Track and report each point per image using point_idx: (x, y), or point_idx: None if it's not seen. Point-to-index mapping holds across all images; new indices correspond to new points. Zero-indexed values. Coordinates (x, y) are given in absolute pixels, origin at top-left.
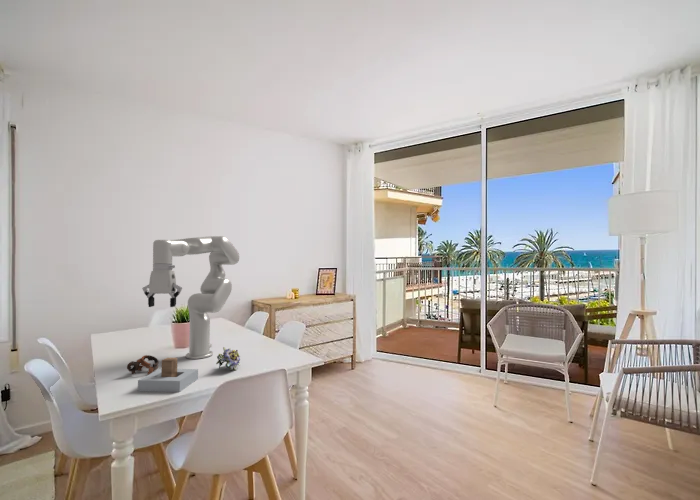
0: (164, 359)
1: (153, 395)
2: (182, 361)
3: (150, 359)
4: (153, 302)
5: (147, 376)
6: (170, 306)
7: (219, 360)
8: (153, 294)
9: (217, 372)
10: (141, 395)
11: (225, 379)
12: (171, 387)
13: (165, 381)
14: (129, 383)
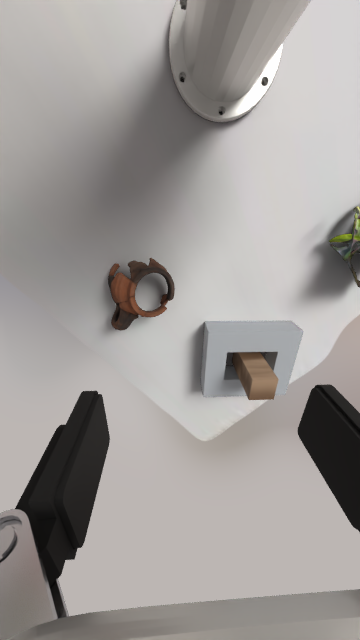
0: (252, 393)
1: None
2: (190, 157)
3: (137, 268)
4: (90, 436)
5: (209, 379)
6: (302, 437)
7: (346, 242)
8: (34, 591)
9: (328, 274)
10: None
11: (350, 320)
12: None
13: None
14: (157, 351)
